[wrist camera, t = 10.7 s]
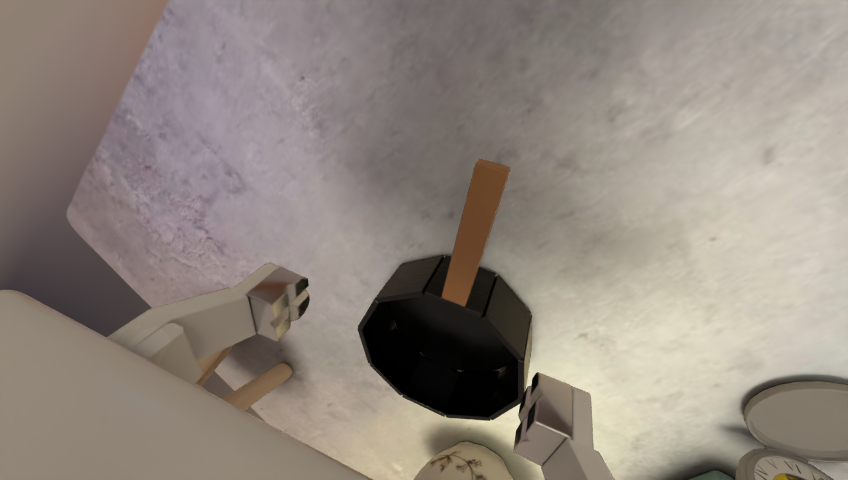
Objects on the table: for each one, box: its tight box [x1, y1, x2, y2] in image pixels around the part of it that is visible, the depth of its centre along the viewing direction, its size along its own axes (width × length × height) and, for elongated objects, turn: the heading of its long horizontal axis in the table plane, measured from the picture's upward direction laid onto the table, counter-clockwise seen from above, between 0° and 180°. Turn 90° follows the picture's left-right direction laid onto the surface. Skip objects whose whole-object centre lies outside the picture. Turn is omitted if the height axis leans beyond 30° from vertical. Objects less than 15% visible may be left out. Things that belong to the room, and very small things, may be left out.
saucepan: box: [358, 159, 532, 421], centre depth 23 cm, size 21×13×5 cm, turn 171°
